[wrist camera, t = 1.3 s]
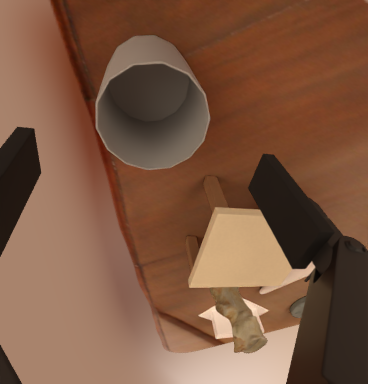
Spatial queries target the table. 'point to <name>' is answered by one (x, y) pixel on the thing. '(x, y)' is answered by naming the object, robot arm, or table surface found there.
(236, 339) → the sculpture
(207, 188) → the side table
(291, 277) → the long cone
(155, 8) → the table surface
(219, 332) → the napkin holder
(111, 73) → the cup
